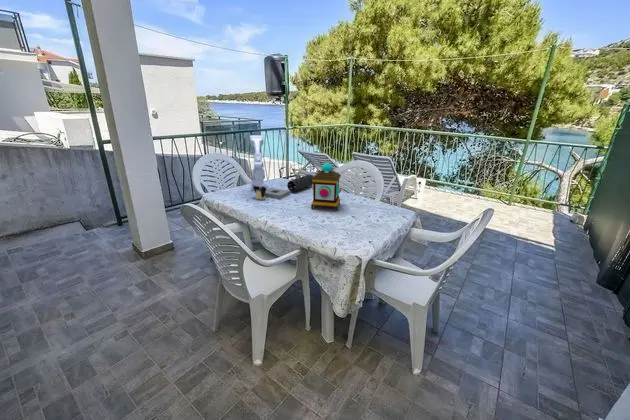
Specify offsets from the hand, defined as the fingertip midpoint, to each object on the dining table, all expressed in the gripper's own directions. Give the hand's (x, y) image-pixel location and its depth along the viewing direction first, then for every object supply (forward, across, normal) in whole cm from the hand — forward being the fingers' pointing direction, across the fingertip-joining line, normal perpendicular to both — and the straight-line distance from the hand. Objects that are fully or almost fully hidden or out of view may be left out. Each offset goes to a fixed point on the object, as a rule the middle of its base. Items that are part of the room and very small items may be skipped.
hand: (260, 196), depth 203 cm
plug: (+2, 0, 0) cm, 2 cm away
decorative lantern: (+2, +49, +9) cm, 50 cm away
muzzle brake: (+2, +13, +38) cm, 40 cm away
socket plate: (+2, +4, +13) cm, 14 cm away
